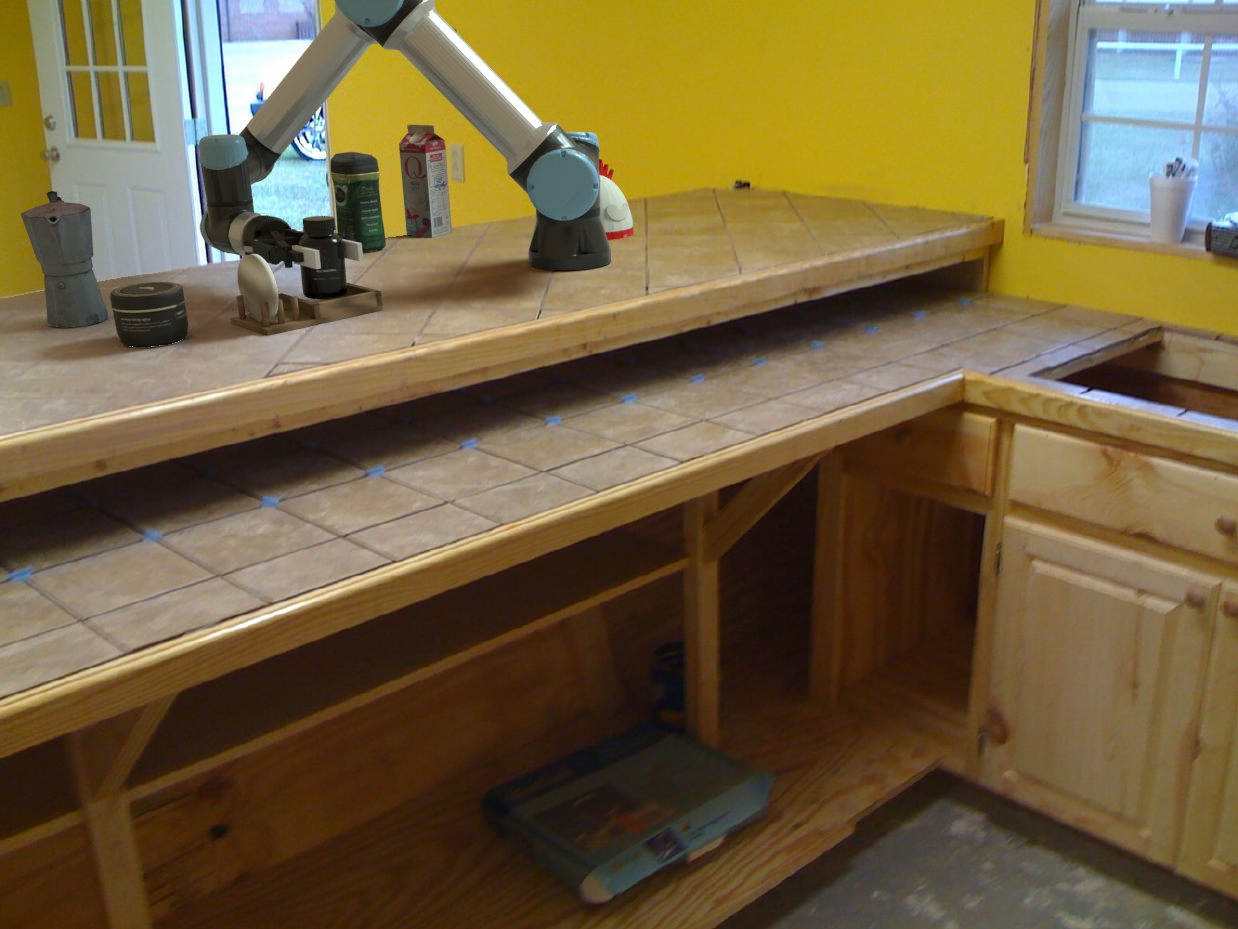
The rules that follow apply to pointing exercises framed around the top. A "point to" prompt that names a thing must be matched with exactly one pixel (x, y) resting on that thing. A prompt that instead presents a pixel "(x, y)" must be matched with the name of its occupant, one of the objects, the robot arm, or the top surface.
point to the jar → (150, 313)
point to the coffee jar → (358, 199)
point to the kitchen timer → (613, 207)
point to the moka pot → (66, 261)
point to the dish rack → (292, 302)
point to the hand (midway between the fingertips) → (339, 255)
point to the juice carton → (425, 182)
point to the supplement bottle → (323, 259)
